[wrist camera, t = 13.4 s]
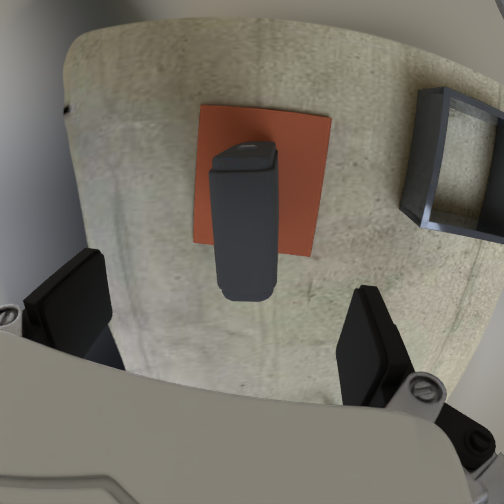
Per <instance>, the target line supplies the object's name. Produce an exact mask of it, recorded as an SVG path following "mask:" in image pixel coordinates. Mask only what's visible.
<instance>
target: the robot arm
mask: <svg viewBox="0 0 504 504" xmlns="http://www.w3.org/2000/svg"><path fill="white" fill-rule="evenodd" d="M23 302H24V305H25V309H24V310H23V311H22V309H21V307H20V306H18V305H15V304H7V305H3V306H1V307H0V504H504V455H503V454H502V453H499V454H498V455H497V454H496V453H495V448H496V445H495V440H494V437H493V435H492V434H491V432H490V431H489V430H488V429H486V428H485V427H484V426H482V425H480V424H479V423H477V422H475V421H474V420H472V419H470V418H469V417H467V416H466V415H464V414H462V413H461V412H459V411H458V410H456V409H454V408H453V407H451V406H450V405H448V404H446V403H445V400H446V396H447V393H446V388H445V386H444V384H443V383H442V382H441V381H440V380H439V379H438V378H437V377H435V376H434V375H432V374H429V373H427V372H415V370H414V368H413V365H412V363H411V360H410V358H409V355H408V353H407V350H406V348H405V345H404V343H403V340H402V338H401V336H400V333H399V331H398V329H397V327H396V325H395V324H393V321H392V319H391V317H390V314H389V312H388V310H387V308H386V305H385V303H384V301H383V299H382V296H381V294H380V292H379V290H378V288H377V287H376V286H367V285H361V286H360V288H359V289H358V288H356V289H355V290H354V293H353V296H352V299H351V303H350V306H349V309H348V313H347V316H346V319H345V322H344V326H343V329H342V332H341V335H340V338H339V341H338V344H337V347H336V359H337V366H338V372H339V379H340V386H341V394H342V401H343V405H333V404H317V403H304V402H293V401H283V400H274V399H265V398H257V397H250V396H243V395H236V394H230V393H223V392H218V391H212V390H206V389H201V388H196V387H190V386H185V385H181V384H176V383H171V382H167V381H162V380H158V379H154V378H150V377H146V376H142V375H138V374H134V373H130V372H126V371H123V370H119V369H115V368H111V367H108V366H105V365H101V364H98V363H94V362H91V361H88V360H85V359H83V358H84V356H85V355H86V353H87V352H88V351H89V349H90V348H91V346H92V345H93V344H94V342H95V341H96V339H97V338H98V337H99V335H100V334H101V332H102V331H103V330H104V328H105V327H106V326H107V324H108V323H109V322H110V320H111V318H112V313H113V312H112V306H111V300H110V294H109V288H108V281H107V274H106V267H105V259H104V255H103V254H101V252H100V250H98V249H91V248H85V249H83V250H82V251H81V252H79V253H78V254H77V255H76V256H75V257H73V258H72V259H71V260H70V261H68V262H67V263H66V264H65V265H63V266H62V267H61V268H60V269H59V270H57V271H56V272H55V273H54V274H53V275H52V276H50V277H49V278H48V279H47V280H46V281H45V282H43V283H42V284H41V285H40V286H39V287H38V288H37V289H35V290H34V291H33V292H32V293H31V294H30V295H29V296H28V297H26V298H25V299H24V300H23Z"/></svg>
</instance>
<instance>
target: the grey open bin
mask: <svg viewBox="0 0 504 504" xmlns="http://www.w3.org/2000/svg"><path fill="white" fill-rule="evenodd" d="M449 107H450V108H453V109H455V110H458V111H461V112H463V113H466V114H468V115H471V116H473V117H476V118H478V119H481V120H483V121H485V122H488V123H490V124H492V125H494V126H496V127H497V132H496V140H495V146H494V153H493V159H492V164H491V170H490V175H489V180H488V184H487V189H486V193H485V198H484V202H483V206H482V210H481V213H480V217H479V220H478V219H474V218H470V217H466V216H461V215H457V214H453V213H448V212H444V211H439V210H435V209H432V205H433V201H434V196H435V192H436V187H437V183H438V178H439V173H440V168H441V162H442V157H443V151H444V145H445V138H446V131H447V124H448V116H449ZM399 209H400V210H401V211H402V212H403V213H404V214H405V215H407V216H408V217H409V218H410V219H411V220H412V221H413V222H414V223H416V224H417V225H418V226H419V227H420V228H426V229H431V230H437V231H442V232H447V233H452V234H457V235H462V236H467V237H472V238H477V239H481V240H486V241H491V242H495V243H500V244H504V112H502V111H500V110H498V109H496V108H494V107H492V106H490V105H488V104H485V103H483V102H481V101H479V100H477V99H474V98H472V97H470V96H467V95H465V94H462V93H460V92H457V91H455V90H452V89H450V88H447V87H445V86H444V87H436V88H429V89H422V90H418V100H417V109H416V117H415V125H414V132H413V139H412V145H411V151H410V157H409V163H408V169H407V174H406V179H405V184H404V189H403V194H402V199H401V203H400V208H399Z"/></svg>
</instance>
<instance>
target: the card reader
mask: <svg viewBox="0 0 504 504" xmlns="http://www.w3.org/2000/svg"><path fill="white" fill-rule="evenodd" d="M208 174H209V188H210V202H211V215H212V227H213V239H214V250H215V261H216V272H217V282H218V286H219V288H220V289H222V293H223V295H224V296H225V298H227V299H229V300H231V301H249V302H260V301H263V300H266V299H268V298H269V297H270V296H271V295H272V293H273V290H274V287H275V286H276V283H277V263H278V234H279V176H278V150H277V149H276V144H275V142H272V141H249V142H242V143H240V144H237V145H234V146H232V147H230V148H229V149H227V150H225V151H223V152H221V153H219V154H218V155H216V156H214V157H213V159H212V169H210V170H209V173H208Z"/></svg>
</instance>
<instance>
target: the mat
mask: <svg viewBox="0 0 504 504" xmlns="http://www.w3.org/2000/svg"><path fill="white" fill-rule="evenodd" d="M331 120H332V118H328V117H322V116H315V115H309V114H302V113H294V112H286V111H278V110H269V109H259V108H247V107H234V106H217V105H201V107H200V119H199V132H198V147H197V164H196V183H195V206H194V240H193V242H194V243H202V244H210V245H214V239H213V227H212V215H211V202H210V188H209V174H208V173H209V170H210V169H212V159H213V157H214V156H216V155H218V154H219V153H221V152H223V151H225V150H227V149H229V148H230V147H232V146H234V145H237V144H240V143H242V142H249V141H272V142H275V144H276V149H277V150H278V176H279V234H278V253H283V254H291V255H299V256H308V257H310V255H311V250H312V244H313V239H314V233H315V228H316V222H317V216H318V210H319V204H320V198H321V191H322V185H323V178H324V172H325V165H326V158H327V151H328V143H329V136H330V128H331Z"/></svg>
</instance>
